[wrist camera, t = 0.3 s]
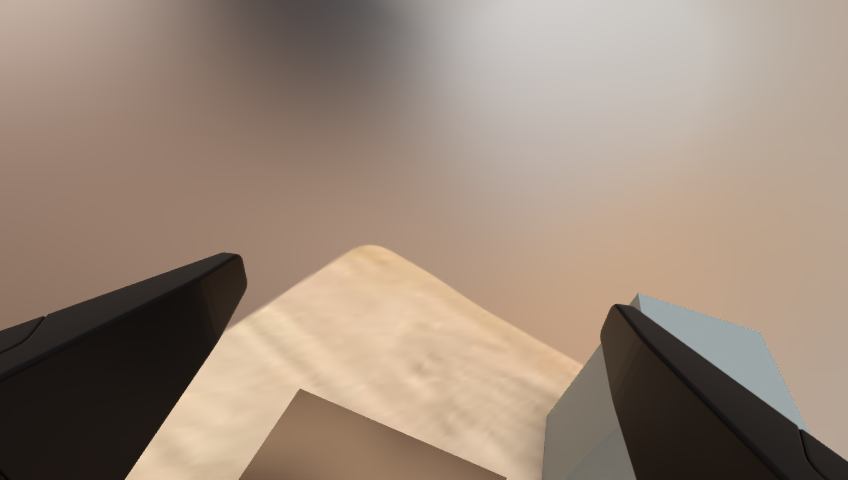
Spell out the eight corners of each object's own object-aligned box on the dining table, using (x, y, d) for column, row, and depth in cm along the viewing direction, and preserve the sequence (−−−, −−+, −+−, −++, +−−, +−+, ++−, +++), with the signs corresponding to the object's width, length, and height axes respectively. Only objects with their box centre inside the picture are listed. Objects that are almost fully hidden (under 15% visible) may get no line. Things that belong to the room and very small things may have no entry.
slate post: (634, 541, 19) (817, 449, 12) (540, 500, 20) (655, 390, 13) (625, 447, 23) (760, 331, 16) (546, 416, 24) (638, 292, 16)
